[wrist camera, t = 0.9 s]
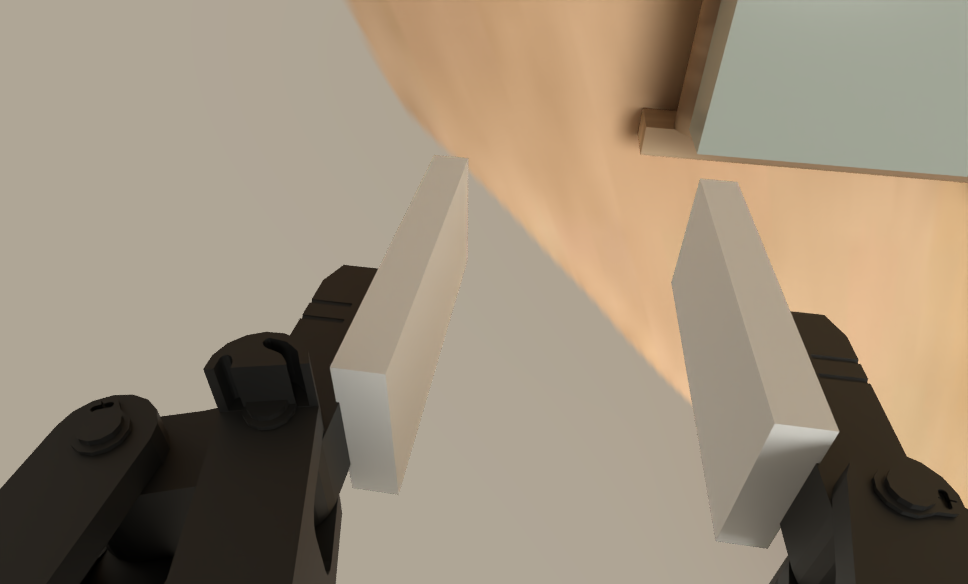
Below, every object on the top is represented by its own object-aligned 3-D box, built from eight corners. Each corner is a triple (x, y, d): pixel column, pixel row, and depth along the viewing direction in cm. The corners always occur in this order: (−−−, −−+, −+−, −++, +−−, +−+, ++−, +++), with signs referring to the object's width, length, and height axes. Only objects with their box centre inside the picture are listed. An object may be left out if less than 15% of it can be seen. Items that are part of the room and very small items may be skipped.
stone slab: (747, -104, 24) (763, -97, 22) (1064, -91, 23) (1117, -82, 21) (689, 129, 31) (696, 154, 28) (937, 149, 29) (967, 176, 27)
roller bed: (697, -171, 26) (710, -171, 23) (1250, -153, 24) (1345, -150, 21) (637, 134, 35) (641, 163, 32) (1040, 167, 33) (1086, 202, 30)
